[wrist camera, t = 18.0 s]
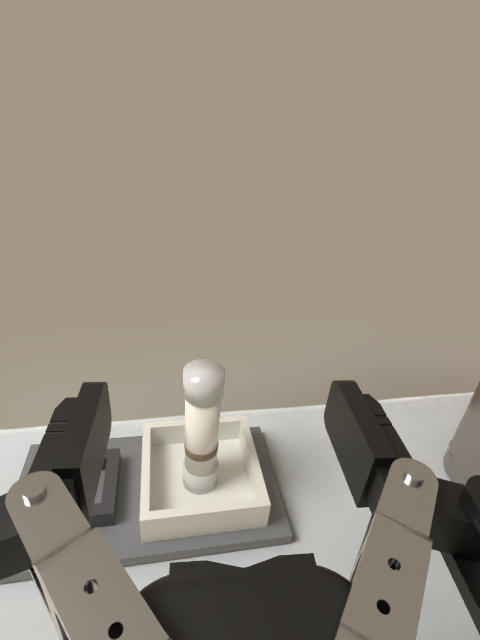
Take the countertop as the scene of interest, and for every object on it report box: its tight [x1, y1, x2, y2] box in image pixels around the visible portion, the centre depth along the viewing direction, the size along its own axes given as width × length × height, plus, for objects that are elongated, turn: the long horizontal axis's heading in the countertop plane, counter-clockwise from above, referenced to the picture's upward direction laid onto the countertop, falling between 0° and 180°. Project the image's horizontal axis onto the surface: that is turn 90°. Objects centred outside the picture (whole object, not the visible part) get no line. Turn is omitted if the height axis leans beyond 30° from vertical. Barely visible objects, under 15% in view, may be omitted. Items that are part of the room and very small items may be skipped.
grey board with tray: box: [0, 415, 293, 584], centre depth 40 cm, size 26×14×4 cm, turn 100°
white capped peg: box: [183, 359, 225, 495], centre depth 38 cm, size 4×4×14 cm
